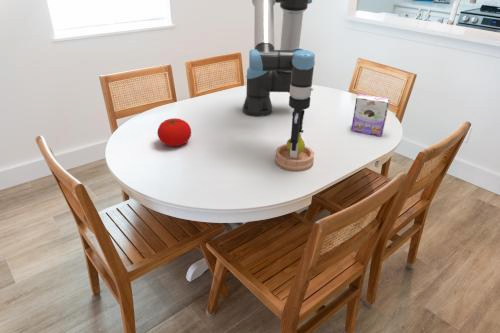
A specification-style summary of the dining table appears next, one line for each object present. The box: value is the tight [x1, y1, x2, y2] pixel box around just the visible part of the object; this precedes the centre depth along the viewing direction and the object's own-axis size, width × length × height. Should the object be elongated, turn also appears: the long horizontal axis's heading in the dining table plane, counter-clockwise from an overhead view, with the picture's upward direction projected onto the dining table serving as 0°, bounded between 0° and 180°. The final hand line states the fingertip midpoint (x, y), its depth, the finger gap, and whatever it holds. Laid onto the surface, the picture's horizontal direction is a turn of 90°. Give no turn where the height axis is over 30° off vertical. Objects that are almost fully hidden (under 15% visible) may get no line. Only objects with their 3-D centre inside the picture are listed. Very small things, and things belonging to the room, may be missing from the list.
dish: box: [274, 143, 315, 172], centre depth 146 cm, size 15×15×4 cm
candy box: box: [350, 93, 391, 137], centre depth 168 cm, size 14×6×16 cm, turn 65°
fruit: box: [285, 125, 306, 154], centre depth 142 cm, size 7×7×12 cm
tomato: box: [156, 117, 192, 147], centre depth 156 cm, size 14×13×10 cm
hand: (294, 152), depth 145 cm, fingers closed on fruit, 7 cm apart
